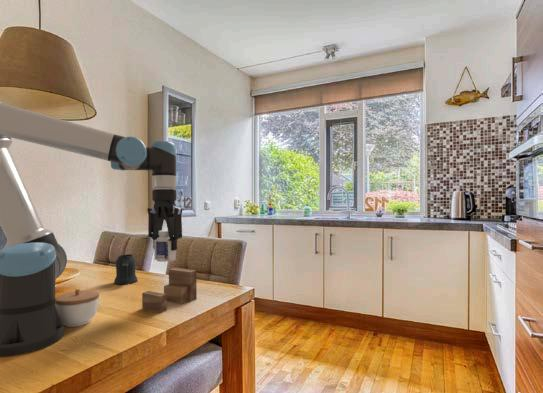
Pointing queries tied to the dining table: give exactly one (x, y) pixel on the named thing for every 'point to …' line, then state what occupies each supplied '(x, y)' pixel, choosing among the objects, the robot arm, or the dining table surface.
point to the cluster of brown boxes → (172, 291)
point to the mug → (125, 270)
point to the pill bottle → (162, 246)
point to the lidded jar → (77, 307)
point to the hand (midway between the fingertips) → (165, 259)
